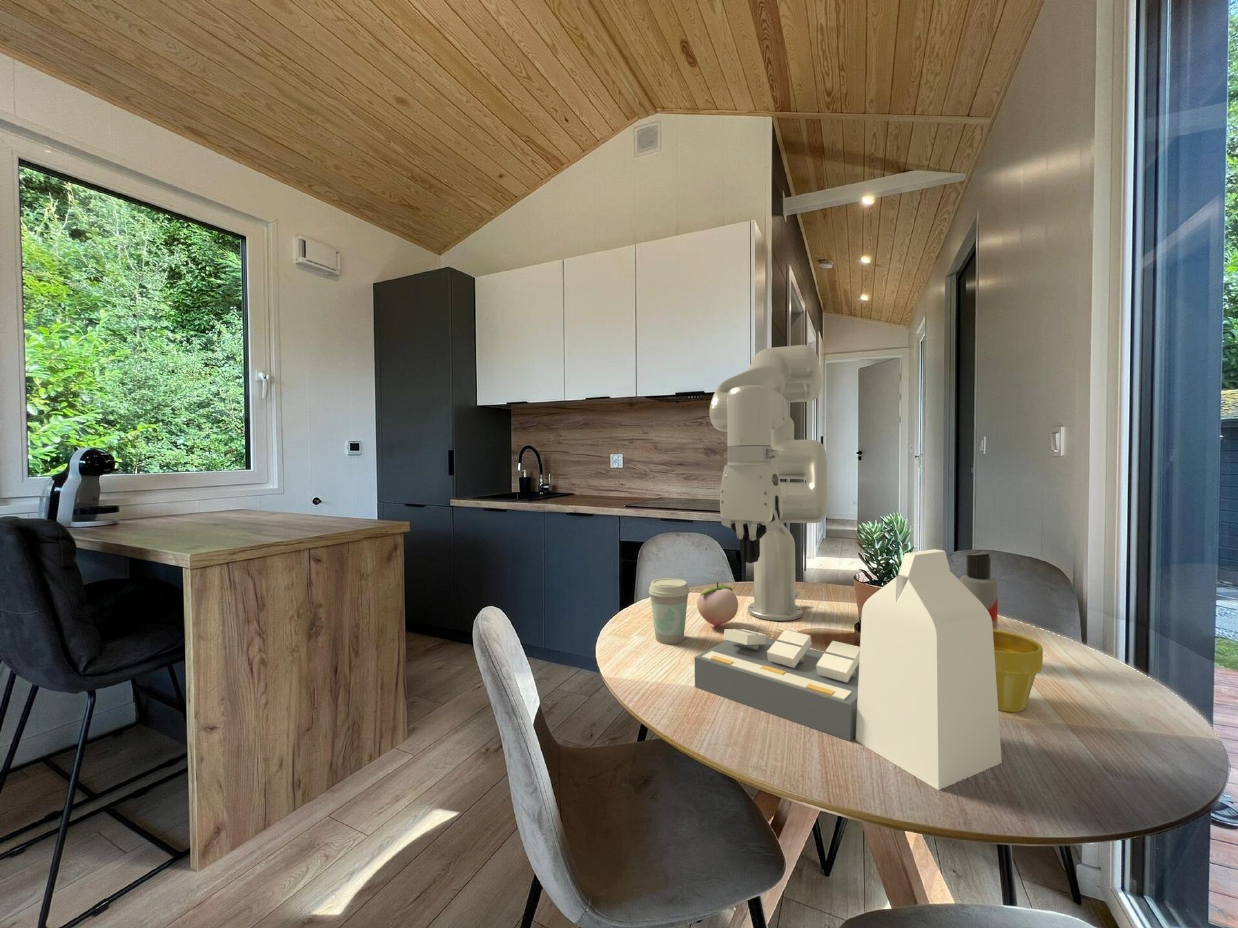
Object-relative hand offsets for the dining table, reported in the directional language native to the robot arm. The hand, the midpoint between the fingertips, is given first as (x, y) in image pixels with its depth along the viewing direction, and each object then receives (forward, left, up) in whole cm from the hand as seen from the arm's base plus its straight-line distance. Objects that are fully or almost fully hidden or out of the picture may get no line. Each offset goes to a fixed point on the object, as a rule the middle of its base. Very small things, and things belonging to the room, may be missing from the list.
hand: (750, 561), depth 91 cm
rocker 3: (+2, +16, -13) cm, 20 cm away
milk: (+6, +28, -20) cm, 35 cm away
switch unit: (+3, +8, -20) cm, 22 cm away
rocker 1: (+2, 0, -13) cm, 13 cm away
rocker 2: (+2, +8, -13) cm, 15 cm away
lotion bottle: (-32, +29, -20) cm, 48 cm away
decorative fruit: (-17, -17, -20) cm, 32 cm away
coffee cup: (-4, -21, -20) cm, 30 cm away
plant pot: (-15, +34, -20) cm, 42 cm away
